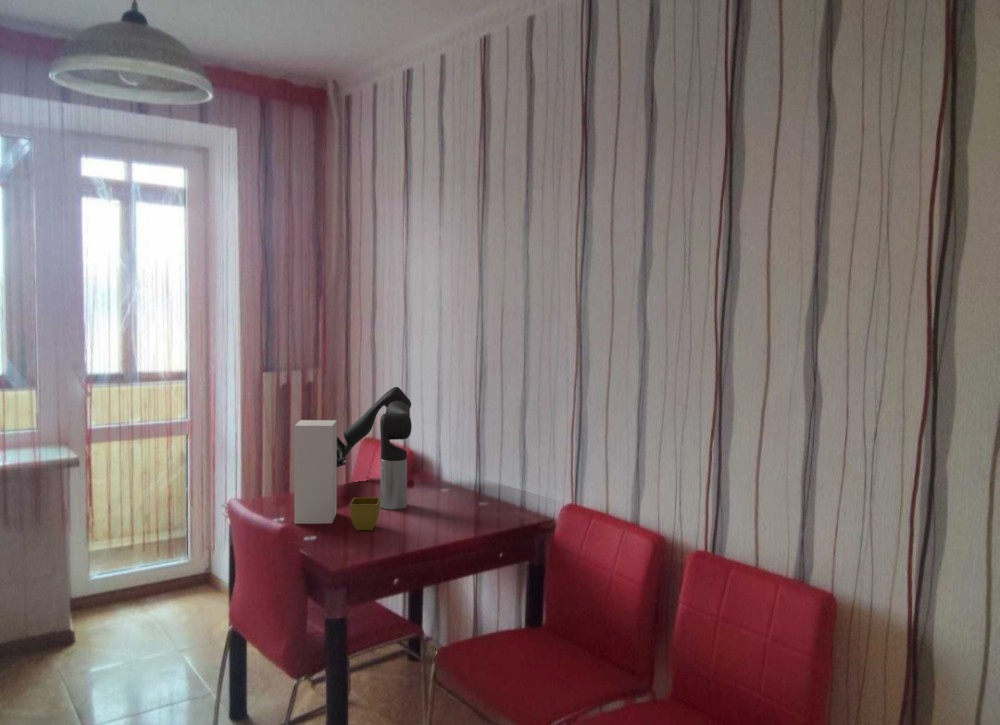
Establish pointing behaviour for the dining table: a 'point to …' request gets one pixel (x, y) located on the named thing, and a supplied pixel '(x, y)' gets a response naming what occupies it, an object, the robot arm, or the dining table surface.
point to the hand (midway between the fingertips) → (325, 466)
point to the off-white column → (315, 471)
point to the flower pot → (364, 512)
